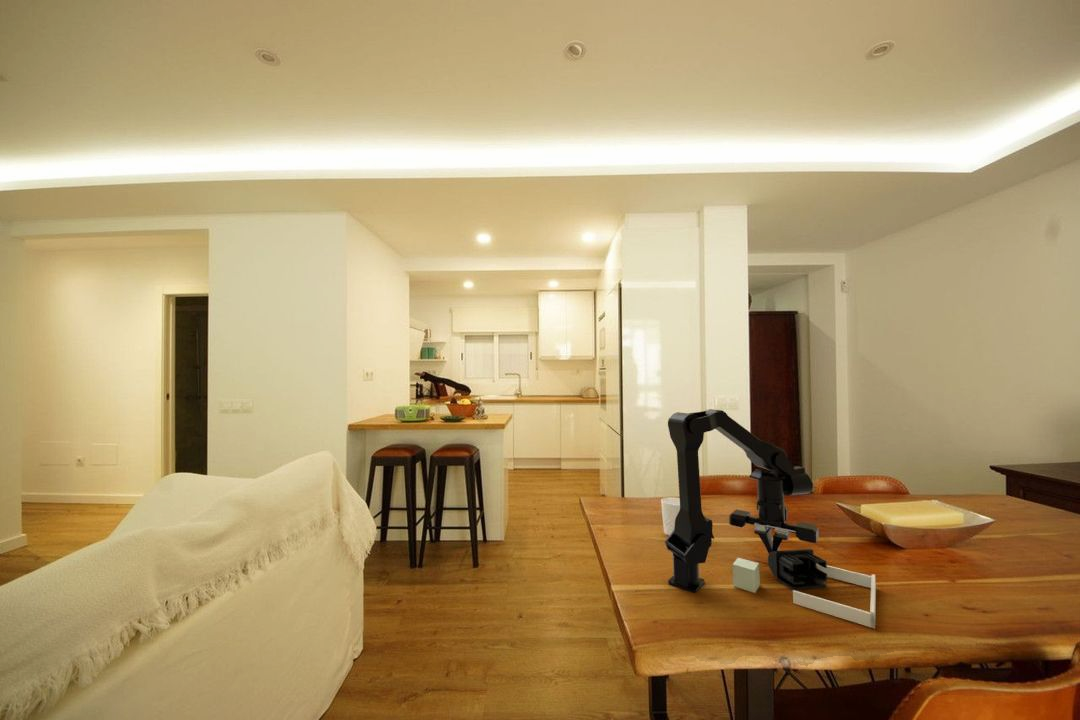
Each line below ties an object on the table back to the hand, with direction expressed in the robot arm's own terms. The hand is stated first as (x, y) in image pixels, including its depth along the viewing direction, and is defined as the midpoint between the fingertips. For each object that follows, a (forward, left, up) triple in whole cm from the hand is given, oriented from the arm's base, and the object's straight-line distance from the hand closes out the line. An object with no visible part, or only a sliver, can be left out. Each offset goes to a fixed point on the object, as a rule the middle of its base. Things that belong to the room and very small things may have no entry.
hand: (773, 559), depth 97 cm
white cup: (+8, +28, -3) cm, 30 cm away
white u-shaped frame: (-4, -13, -3) cm, 14 cm away
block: (-12, +3, -3) cm, 13 cm away
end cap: (-2, -5, -3) cm, 6 cm away
